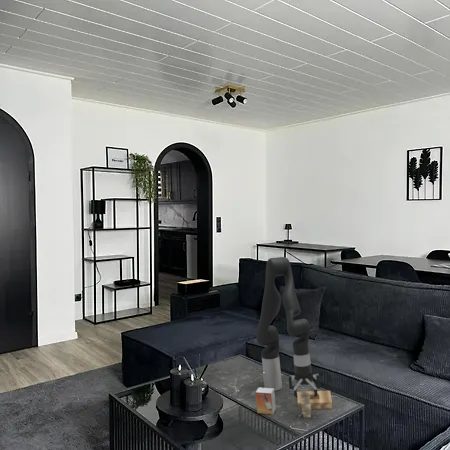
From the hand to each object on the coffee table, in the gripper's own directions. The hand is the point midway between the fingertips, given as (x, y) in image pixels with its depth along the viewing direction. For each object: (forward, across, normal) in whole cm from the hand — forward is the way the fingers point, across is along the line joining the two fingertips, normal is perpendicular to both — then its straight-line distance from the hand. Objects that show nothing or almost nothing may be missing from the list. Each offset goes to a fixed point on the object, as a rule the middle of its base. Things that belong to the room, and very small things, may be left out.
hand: (305, 396), depth 198 cm
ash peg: (+9, 0, 0) cm, 9 cm away
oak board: (+9, -4, -12) cm, 16 cm away
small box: (+9, +19, -5) cm, 22 cm away
